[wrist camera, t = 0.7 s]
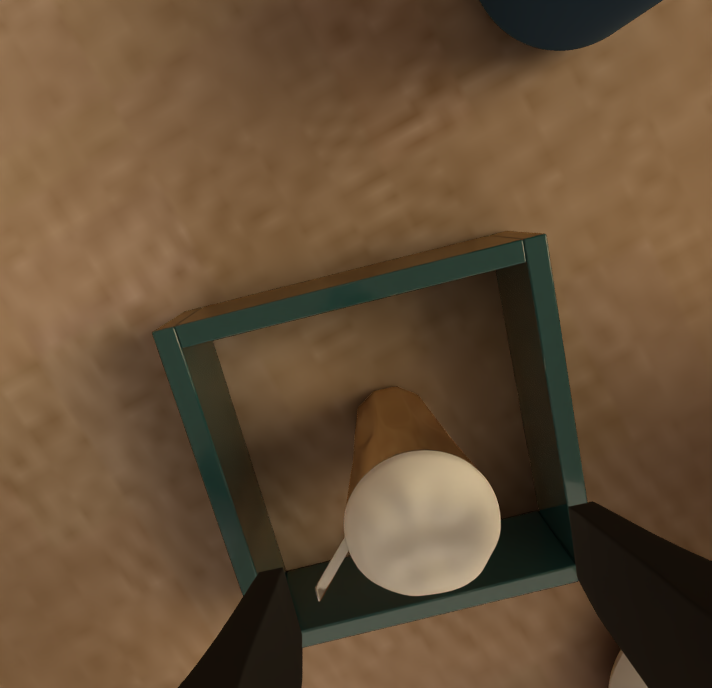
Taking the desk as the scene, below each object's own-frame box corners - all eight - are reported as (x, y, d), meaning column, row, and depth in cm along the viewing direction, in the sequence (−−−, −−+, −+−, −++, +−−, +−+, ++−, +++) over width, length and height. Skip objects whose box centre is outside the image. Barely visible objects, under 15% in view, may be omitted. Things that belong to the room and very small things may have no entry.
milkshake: (311, 387, 23) (295, 516, 13) (433, 361, 23) (511, 469, 13) (333, 482, 24) (335, 666, 14) (451, 456, 24) (534, 624, 14)
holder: (274, 589, 25) (263, 658, 21) (183, 311, 22) (150, 332, 18) (557, 520, 25) (599, 577, 21) (507, 230, 21) (547, 233, 18)
